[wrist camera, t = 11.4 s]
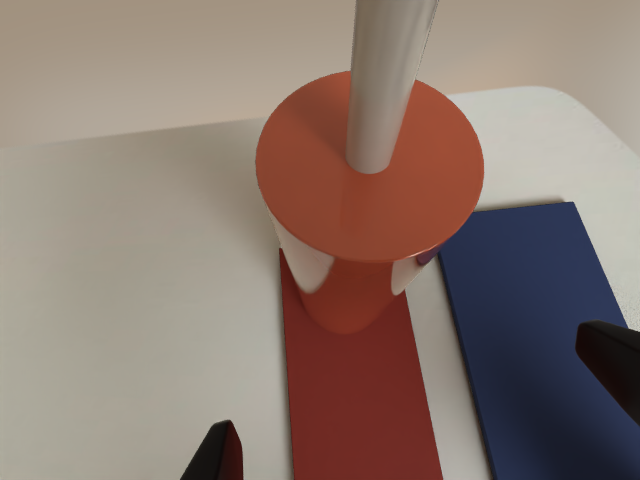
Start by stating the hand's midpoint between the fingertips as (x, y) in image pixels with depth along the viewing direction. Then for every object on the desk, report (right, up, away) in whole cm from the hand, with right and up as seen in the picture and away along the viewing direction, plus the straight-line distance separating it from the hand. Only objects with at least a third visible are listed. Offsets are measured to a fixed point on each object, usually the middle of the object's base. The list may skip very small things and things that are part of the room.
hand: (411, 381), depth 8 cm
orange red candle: (-1, +1, +11) cm, 11 cm away
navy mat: (+10, -4, +9) cm, 14 cm away
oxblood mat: (0, -3, +10) cm, 10 cm away
